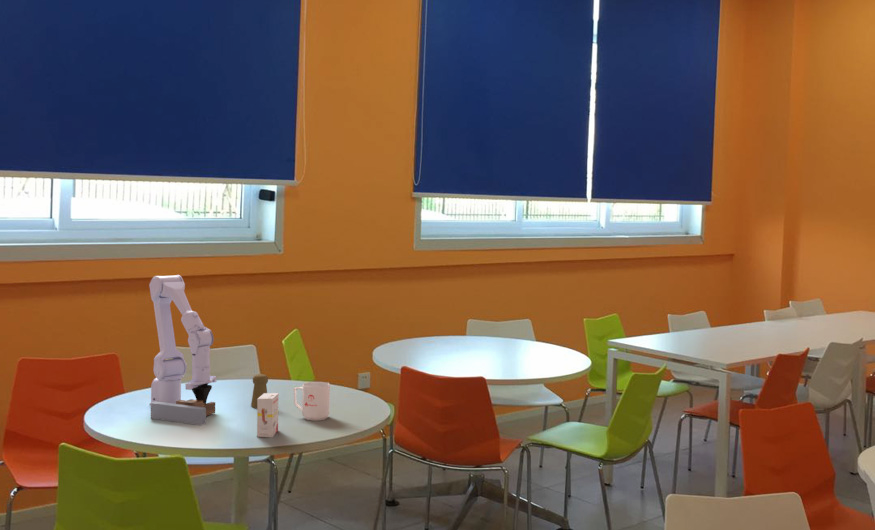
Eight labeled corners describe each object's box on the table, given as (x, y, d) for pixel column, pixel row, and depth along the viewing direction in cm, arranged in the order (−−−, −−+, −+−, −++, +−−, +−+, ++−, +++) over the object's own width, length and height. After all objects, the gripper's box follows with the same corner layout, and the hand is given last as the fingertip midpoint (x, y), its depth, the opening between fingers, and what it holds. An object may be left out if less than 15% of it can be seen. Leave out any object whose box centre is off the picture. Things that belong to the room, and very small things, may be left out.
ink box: (262, 429, 277) (263, 392, 276) (278, 430, 277) (279, 392, 276) (256, 437, 269) (256, 398, 268) (272, 437, 269) (273, 398, 268)
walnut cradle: (175, 414, 292) (176, 401, 291) (190, 409, 299) (190, 396, 299) (200, 417, 288) (200, 404, 288) (215, 412, 296) (215, 399, 296)
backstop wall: (150, 418, 287) (150, 402, 287) (155, 416, 289) (155, 401, 289) (201, 425, 281) (201, 409, 280) (205, 423, 283) (205, 407, 282)
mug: (332, 415, 298) (333, 382, 297) (324, 422, 289) (325, 388, 288) (298, 413, 300) (298, 380, 299) (289, 419, 291) (289, 385, 291)
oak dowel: (189, 416, 294) (187, 403, 292) (198, 410, 297) (196, 398, 296) (199, 417, 292) (197, 405, 291) (207, 412, 295) (205, 400, 294)
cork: (264, 408, 305) (265, 376, 304) (248, 407, 306) (248, 375, 305) (271, 405, 311) (272, 373, 310) (255, 403, 312) (255, 372, 311)
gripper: (198, 371, 286) (198, 413, 287) (223, 363, 300) (224, 403, 301) (179, 369, 289) (180, 411, 290) (205, 362, 302) (206, 402, 303)
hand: (201, 407), depth 295 cm, fingers closed, pressing on oak dowel
